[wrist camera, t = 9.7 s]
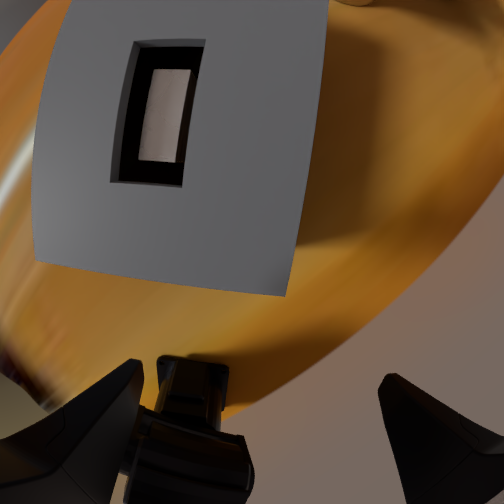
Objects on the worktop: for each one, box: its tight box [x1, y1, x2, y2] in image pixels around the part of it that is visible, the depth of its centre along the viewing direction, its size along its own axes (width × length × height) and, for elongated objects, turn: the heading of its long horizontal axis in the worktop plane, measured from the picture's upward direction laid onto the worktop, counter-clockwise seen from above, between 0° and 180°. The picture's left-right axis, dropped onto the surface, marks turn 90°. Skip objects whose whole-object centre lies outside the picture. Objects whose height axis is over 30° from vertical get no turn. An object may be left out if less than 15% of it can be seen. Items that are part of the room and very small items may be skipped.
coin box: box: [31, 0, 329, 297], centre depth 13 cm, size 16×14×7 cm
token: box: [138, 69, 197, 162], centre depth 14 cm, size 5×2×5 cm, turn 171°
